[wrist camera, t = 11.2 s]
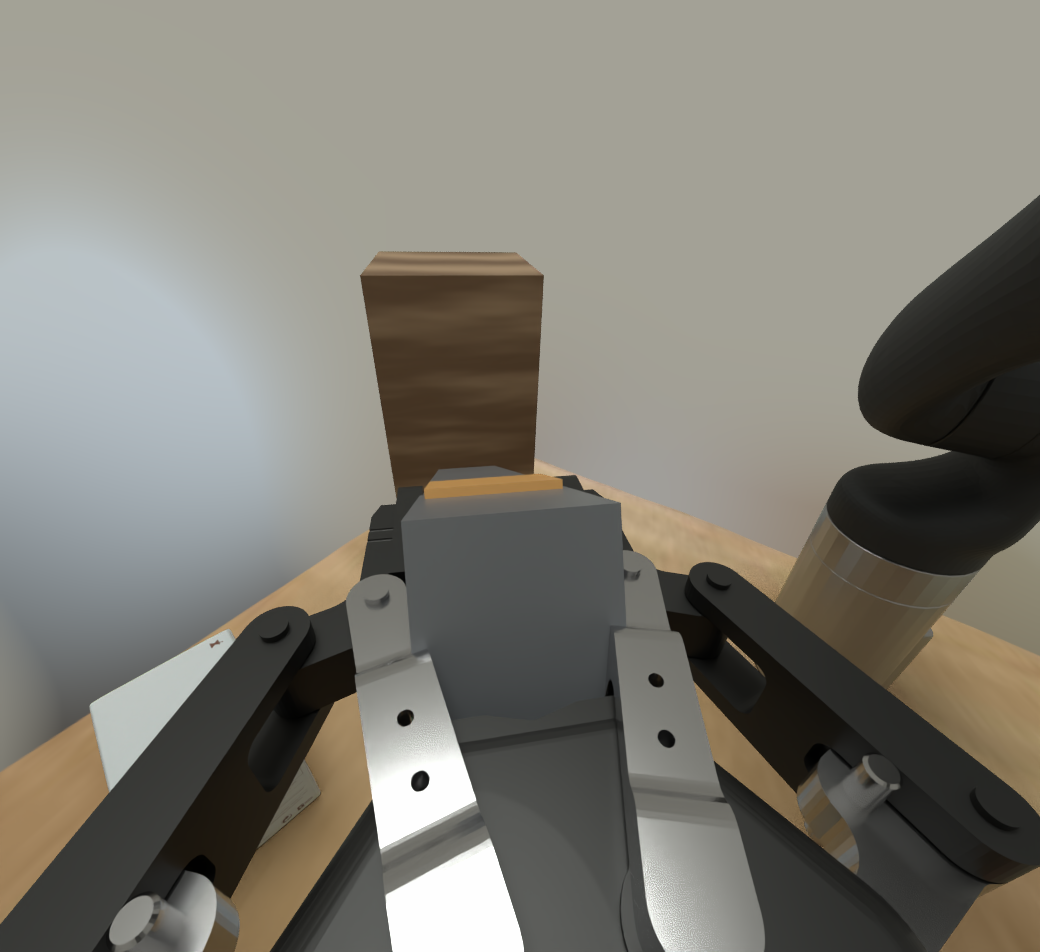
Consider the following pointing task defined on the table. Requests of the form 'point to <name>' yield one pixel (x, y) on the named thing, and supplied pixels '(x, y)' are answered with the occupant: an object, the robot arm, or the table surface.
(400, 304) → the walnut stand
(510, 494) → the bar
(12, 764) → the table surface
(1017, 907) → the table surface
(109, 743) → the supplement box
